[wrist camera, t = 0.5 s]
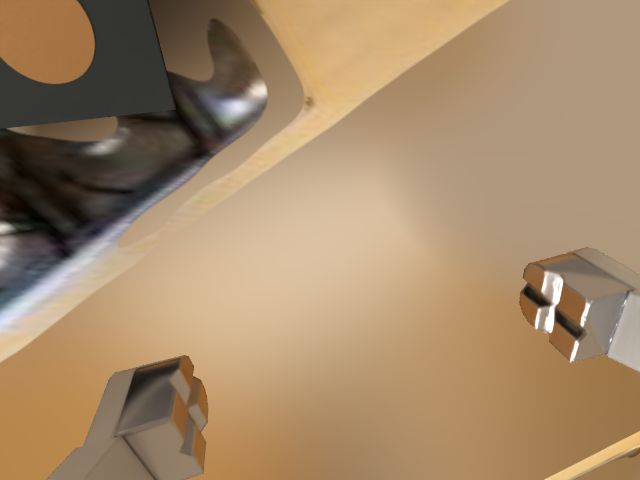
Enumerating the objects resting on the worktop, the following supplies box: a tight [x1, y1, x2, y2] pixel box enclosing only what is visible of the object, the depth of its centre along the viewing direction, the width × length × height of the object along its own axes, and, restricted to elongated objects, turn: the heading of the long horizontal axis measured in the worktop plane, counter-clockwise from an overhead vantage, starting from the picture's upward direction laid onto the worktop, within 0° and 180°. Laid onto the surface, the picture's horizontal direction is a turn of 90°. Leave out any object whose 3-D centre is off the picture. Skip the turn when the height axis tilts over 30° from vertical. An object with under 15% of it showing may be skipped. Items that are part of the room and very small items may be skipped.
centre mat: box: [0, 0, 176, 129], centre depth 33 cm, size 16×20×1 cm
